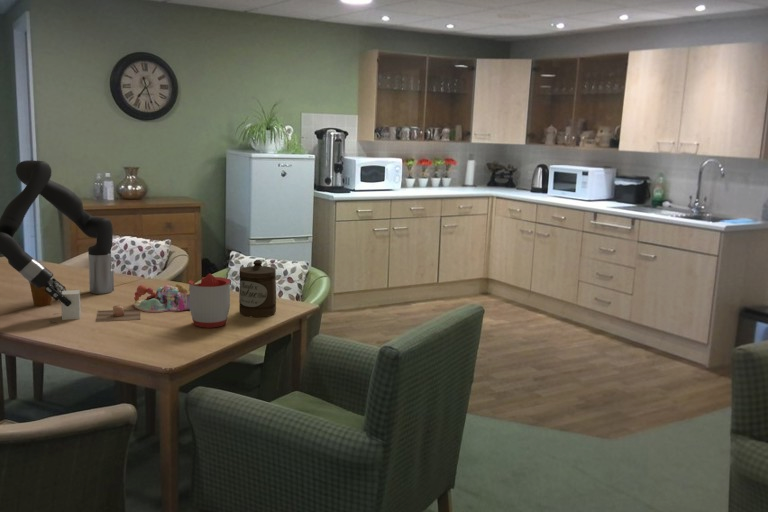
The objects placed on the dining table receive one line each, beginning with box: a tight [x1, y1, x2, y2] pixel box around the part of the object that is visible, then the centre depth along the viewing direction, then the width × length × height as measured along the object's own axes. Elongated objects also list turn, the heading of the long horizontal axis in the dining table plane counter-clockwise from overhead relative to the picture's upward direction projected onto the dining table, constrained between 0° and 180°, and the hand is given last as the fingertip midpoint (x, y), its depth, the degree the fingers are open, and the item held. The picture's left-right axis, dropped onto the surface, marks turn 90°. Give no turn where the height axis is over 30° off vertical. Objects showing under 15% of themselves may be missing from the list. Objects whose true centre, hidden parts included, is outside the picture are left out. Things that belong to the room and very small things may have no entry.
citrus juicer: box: [188, 273, 232, 329], centre depth 269 cm, size 16×17×20 cm
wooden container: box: [238, 259, 277, 318], centre depth 287 cm, size 15×15×22 cm
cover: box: [60, 289, 82, 321], centre depth 269 cm, size 6×6×10 cm
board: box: [95, 308, 141, 323], centre depth 275 cm, size 16×16×1 cm
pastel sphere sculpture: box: [133, 283, 190, 314], centre depth 292 cm, size 25×24×9 cm
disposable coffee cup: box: [28, 275, 54, 307], centre depth 286 cm, size 10×10×12 cm
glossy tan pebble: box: [112, 304, 125, 317], centre depth 275 cm, size 4×4×4 cm
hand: (70, 301), depth 269 cm, fingers open, 8 cm apart
